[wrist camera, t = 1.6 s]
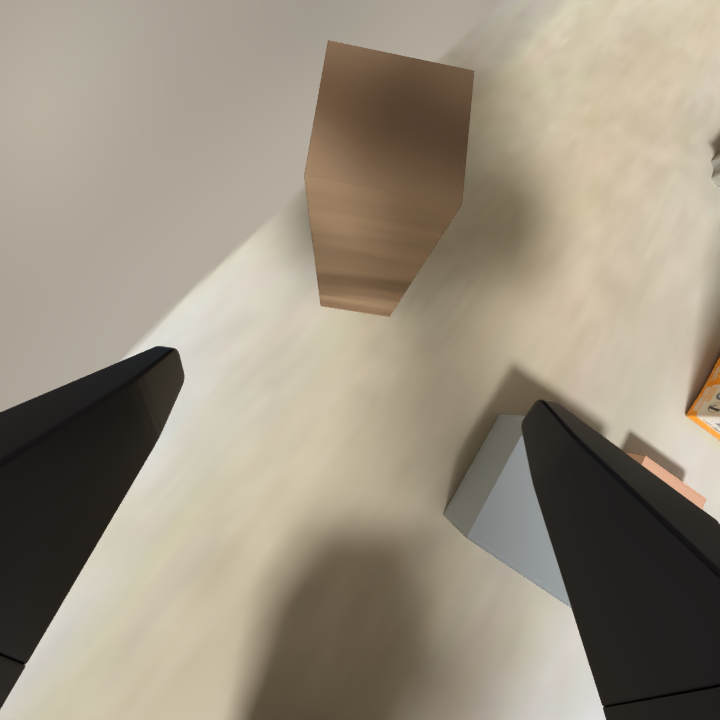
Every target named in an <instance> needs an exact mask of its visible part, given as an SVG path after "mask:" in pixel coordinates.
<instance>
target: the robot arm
mask: <svg viewBox="0 0 720 720" xmlns="http://www.w3.org/2000/svg"><path fill="white" fill-rule="evenodd" d="M183 383H184V371H183V367H182V363H181V359H180V355H179V352H178V351H177V349H175V348H171V347H164V346H156V347H154V348H151V349H149V350H147V351H144V352H142V353H139V354H137V355H135V356H132V357H130V358H128V359H125V360H123V361H121V362H118V363H116V364H114V365H111V366H109V367H107V368H104V369H102V370H100V371H97V372H95V373H92V374H90V375H88V376H85V377H83V378H80V379H78V380H76V381H73V382H71V383H69V384H67V385H64V386H61V387H59V388H57V389H54V390H52V391H50V392H47V393H45V394H43V395H40V396H38V397H35V398H33V399H31V400H28V401H26V402H24V403H21V404H19V405H17V406H15V407H12V408H9V409H7V410H5V411H3V412H0V709H1V707H2V706H3V704H4V702H5V700H6V699H7V697H8V695H9V694H10V692H11V690H12V689H13V687H14V685H15V683H16V682H17V680H18V678H19V677H20V675H21V673H22V671H23V670H24V668H25V664H26V663H27V662H28V661H29V659H30V657H31V655H32V654H33V652H34V650H35V649H36V647H37V645H38V644H39V642H40V640H41V638H42V637H43V635H44V633H45V632H46V630H47V628H48V627H49V625H50V623H51V621H52V620H53V618H54V616H55V615H56V613H57V611H58V610H59V608H60V606H61V604H62V603H63V601H64V599H65V598H66V596H67V594H68V592H69V591H70V589H71V587H72V586H73V584H74V582H75V581H76V579H77V577H78V575H79V574H80V572H81V570H82V569H83V567H84V565H85V564H86V562H87V560H88V558H89V557H90V555H91V553H92V552H93V550H94V548H95V547H96V545H97V543H98V541H99V540H100V538H101V536H102V535H103V533H104V531H105V529H106V528H107V526H108V524H109V523H110V521H111V519H112V518H113V516H114V514H115V512H116V511H117V509H118V507H119V506H120V504H121V502H122V501H123V499H124V497H125V495H126V494H127V492H128V490H129V489H130V487H131V485H132V484H133V482H134V480H135V478H136V477H137V475H138V473H139V472H140V470H141V468H142V466H143V465H144V463H145V461H146V460H147V458H148V456H149V455H150V453H151V451H152V449H153V448H154V446H155V444H156V442H157V441H158V439H159V437H160V435H161V433H162V431H163V428H164V426H165V424H166V422H167V419H168V417H169V415H170V413H171V410H172V408H173V406H174V403H175V401H176V399H177V397H178V394H179V392H180V390H181V388H182V385H183ZM521 430H522V435H523V440H524V445H525V450H526V455H527V459H528V464H529V469H530V474H531V479H532V483H533V486H534V490H535V493H536V497H537V500H538V503H539V506H540V509H541V512H542V516H543V519H544V522H545V525H546V528H547V531H548V535H549V538H550V541H551V544H552V547H553V551H554V554H555V557H556V560H557V563H558V566H559V570H560V573H561V576H562V579H563V582H564V586H565V589H566V592H567V595H568V598H569V601H570V605H571V608H572V611H573V614H574V617H575V621H576V624H577V627H578V630H579V633H580V636H581V640H582V643H583V646H584V649H585V652H586V655H587V659H588V662H589V665H590V668H591V671H592V675H593V678H594V681H595V684H596V687H597V690H598V694H599V697H600V700H601V703H602V705H603V706H604V707H603V710H604V714H605V717H606V720H720V524H719V523H718V521H717V520H716V519H714V518H713V517H712V516H710V515H709V514H707V513H706V512H705V511H703V510H702V509H701V508H699V507H698V506H697V505H695V504H694V503H693V502H691V501H690V500H689V499H687V498H686V497H684V496H683V495H682V494H680V493H679V492H678V491H676V490H675V489H674V488H672V487H671V486H670V485H668V484H667V483H666V482H664V481H663V480H661V479H660V478H659V477H657V476H656V475H655V474H653V473H652V472H651V471H649V470H648V469H647V468H645V467H644V466H643V465H641V464H640V463H639V462H637V461H636V460H634V459H633V458H632V457H630V456H629V455H628V454H626V453H625V452H624V451H622V450H621V449H620V448H618V447H617V446H616V445H614V444H613V443H611V442H610V441H609V440H607V439H606V438H605V437H603V436H602V435H601V434H599V433H598V432H597V431H595V430H594V429H593V428H591V427H590V426H589V425H587V424H586V423H584V422H583V421H582V420H580V419H579V418H578V417H576V416H575V415H574V414H572V413H571V412H570V411H568V410H567V409H566V408H564V407H563V406H561V405H560V404H559V403H557V402H555V401H551V400H544V399H540V400H537V401H536V402H535V403H534V404H533V406H532V407H531V409H530V410H529V411H528V413H527V414H526V416H525V417H524V419H523V421H522V424H521Z"/></svg>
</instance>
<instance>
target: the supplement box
mask: <svg viewBox="0 0 720 720" xmlns="http://www.w3.org/2000/svg"><path fill="white" fill-rule="evenodd" d="M687 417H688V418H689V419H691V420H693V421H694V422H695V423H696V424H698V425H699V426H701V427H702V428H703V429H705V430H706V431H707V432H709V433H710V434H712V435H713V436H714V437H716V438H717V439H718V440H719V441H720V357H719V359H718V361H717V363H716V365H715V367H714V368H713V370H712V373H711V374H710V376H709V378H708V380H707V382H706V383H705V385H704V387H703V389H702V390H701V392H700V394H699V395H698V397H697V399H696V400H695V402H694V403H693V405H692V406H691V408H690V410H689V412H688V413H687Z"/></svg>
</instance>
